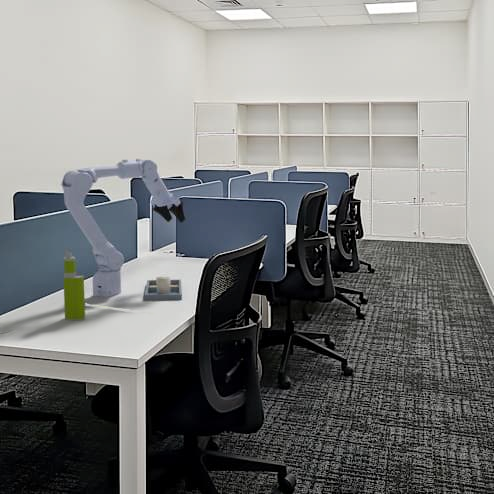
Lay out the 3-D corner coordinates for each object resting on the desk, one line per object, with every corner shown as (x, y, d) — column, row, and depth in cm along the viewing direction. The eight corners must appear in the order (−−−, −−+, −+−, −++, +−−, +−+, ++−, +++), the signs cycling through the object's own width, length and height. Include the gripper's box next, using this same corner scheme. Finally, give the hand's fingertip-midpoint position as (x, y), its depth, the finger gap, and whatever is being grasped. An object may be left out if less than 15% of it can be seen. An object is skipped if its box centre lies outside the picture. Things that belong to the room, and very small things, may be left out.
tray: (181, 301, 223) (181, 294, 223) (144, 302, 222) (144, 295, 221) (181, 286, 247) (180, 279, 246) (147, 286, 245) (147, 280, 245)
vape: (67, 316, 204) (65, 250, 201) (86, 316, 204) (84, 250, 201) (62, 319, 201) (59, 252, 198) (82, 320, 200) (79, 252, 197)
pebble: (165, 297, 225) (165, 279, 224) (153, 296, 227) (153, 278, 226) (173, 294, 229) (172, 277, 228) (161, 293, 231) (161, 276, 230)
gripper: (178, 182, 236) (196, 214, 242) (153, 183, 246) (171, 213, 253) (164, 194, 232) (183, 226, 238) (140, 194, 243) (158, 225, 249)
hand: (176, 220), depth 245 cm, fingers open, 7 cm apart
